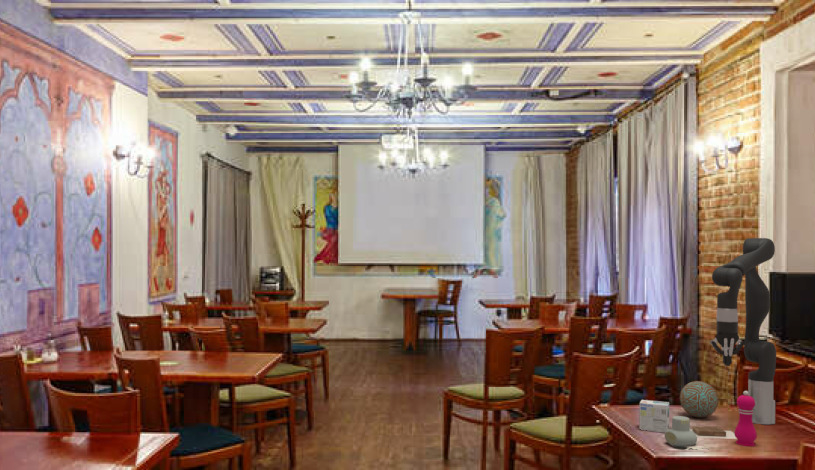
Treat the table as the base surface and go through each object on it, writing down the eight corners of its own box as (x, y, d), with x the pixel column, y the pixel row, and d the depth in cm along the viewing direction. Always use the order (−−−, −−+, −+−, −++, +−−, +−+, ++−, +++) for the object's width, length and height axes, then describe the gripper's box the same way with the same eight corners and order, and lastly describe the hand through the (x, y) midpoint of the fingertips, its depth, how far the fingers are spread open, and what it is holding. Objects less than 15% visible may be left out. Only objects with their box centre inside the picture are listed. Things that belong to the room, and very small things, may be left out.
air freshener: (700, 449, 254) (700, 420, 254) (680, 450, 252) (680, 422, 252) (680, 441, 265) (680, 413, 265) (661, 442, 262) (661, 414, 262)
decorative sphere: (684, 420, 296) (685, 383, 297) (675, 412, 311) (676, 377, 312) (722, 422, 295) (723, 385, 295) (711, 413, 310) (712, 378, 310)
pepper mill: (730, 444, 261) (730, 388, 261) (749, 444, 262) (750, 388, 262) (741, 450, 254) (741, 392, 254) (760, 449, 254) (761, 392, 255)
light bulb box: (669, 429, 281) (669, 401, 281) (667, 433, 275) (668, 405, 275) (640, 426, 286) (641, 399, 286) (638, 430, 280) (639, 402, 280)
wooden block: (719, 427, 274) (692, 426, 275) (726, 432, 267) (698, 430, 268) (719, 432, 274) (692, 430, 275) (726, 436, 267) (698, 435, 268)
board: (730, 434, 276) (730, 430, 276) (742, 442, 264) (742, 439, 264) (676, 431, 278) (676, 428, 278) (685, 440, 266) (685, 436, 266)
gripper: (741, 319, 279) (741, 364, 279) (706, 318, 280) (706, 363, 280) (748, 321, 272) (748, 367, 272) (712, 320, 273) (712, 366, 273)
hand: (727, 365), depth 276 cm, fingers closed
